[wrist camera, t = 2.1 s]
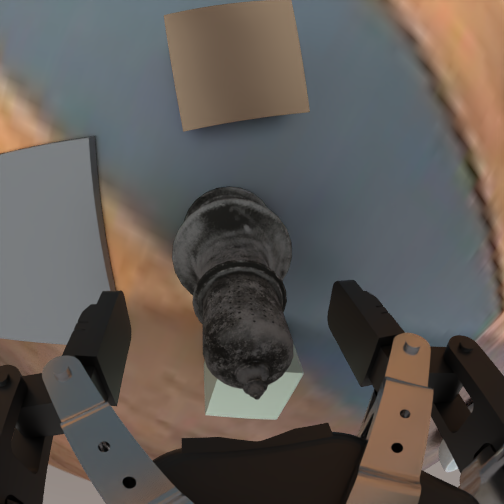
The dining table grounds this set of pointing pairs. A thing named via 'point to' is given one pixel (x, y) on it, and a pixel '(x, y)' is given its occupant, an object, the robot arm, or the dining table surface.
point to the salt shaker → (237, 286)
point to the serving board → (50, 240)
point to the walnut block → (236, 62)
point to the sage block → (241, 404)
